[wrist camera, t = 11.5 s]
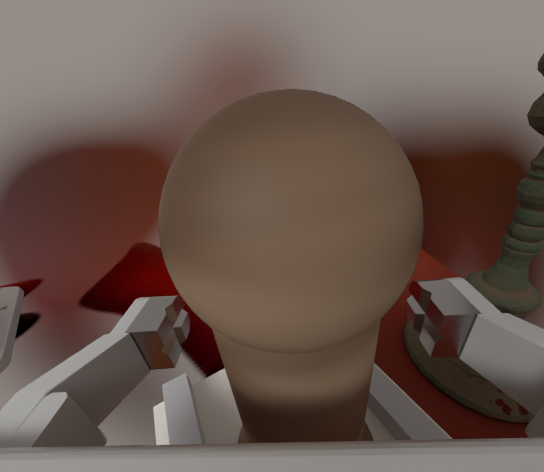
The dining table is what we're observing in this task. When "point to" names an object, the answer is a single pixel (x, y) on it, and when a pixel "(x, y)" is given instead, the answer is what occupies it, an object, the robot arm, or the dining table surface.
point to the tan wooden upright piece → (293, 255)
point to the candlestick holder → (498, 294)
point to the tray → (227, 423)
